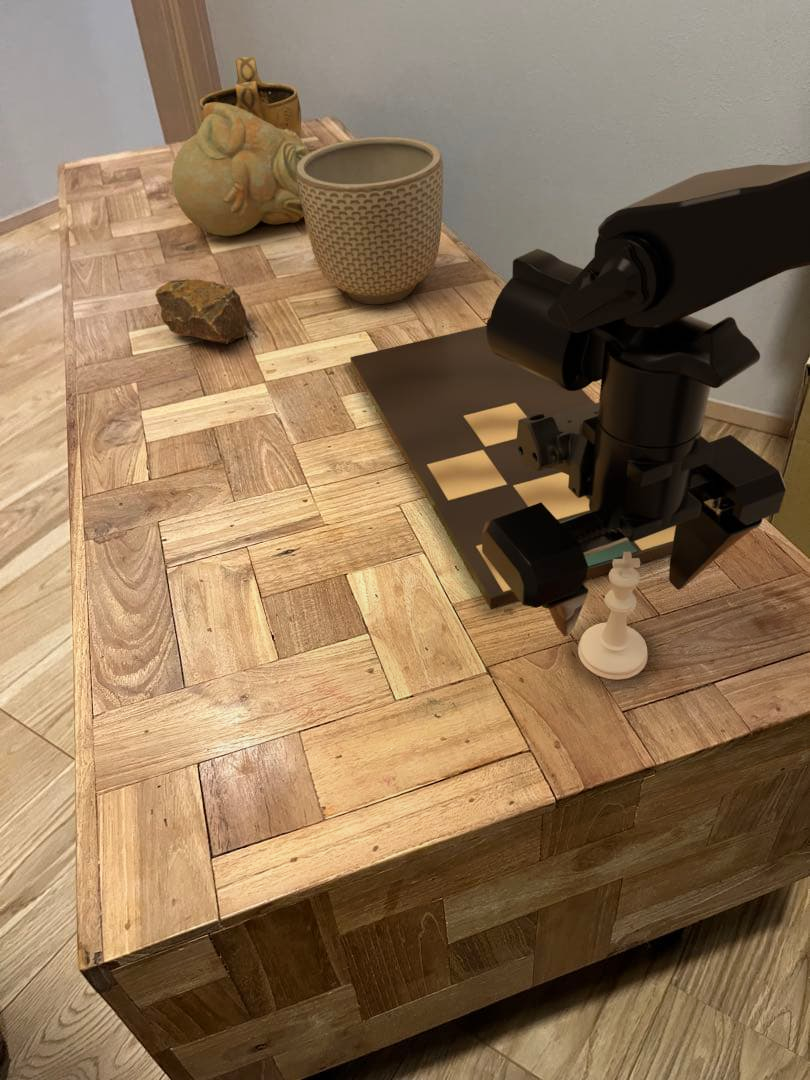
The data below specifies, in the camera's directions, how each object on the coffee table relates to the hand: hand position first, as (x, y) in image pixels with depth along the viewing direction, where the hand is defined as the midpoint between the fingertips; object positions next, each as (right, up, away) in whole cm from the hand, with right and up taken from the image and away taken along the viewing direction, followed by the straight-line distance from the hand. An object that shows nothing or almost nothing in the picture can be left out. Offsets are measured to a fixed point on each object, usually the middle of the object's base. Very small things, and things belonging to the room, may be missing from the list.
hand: (620, 607), depth 57 cm
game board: (-5, +14, +24) cm, 28 cm away
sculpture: (-37, +52, +68) cm, 94 cm away
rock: (-39, +29, +44) cm, 65 cm away
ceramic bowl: (-41, +72, +90) cm, 123 cm away
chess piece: (0, -4, +4) cm, 5 cm away
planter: (-18, +37, +50) cm, 65 cm away
